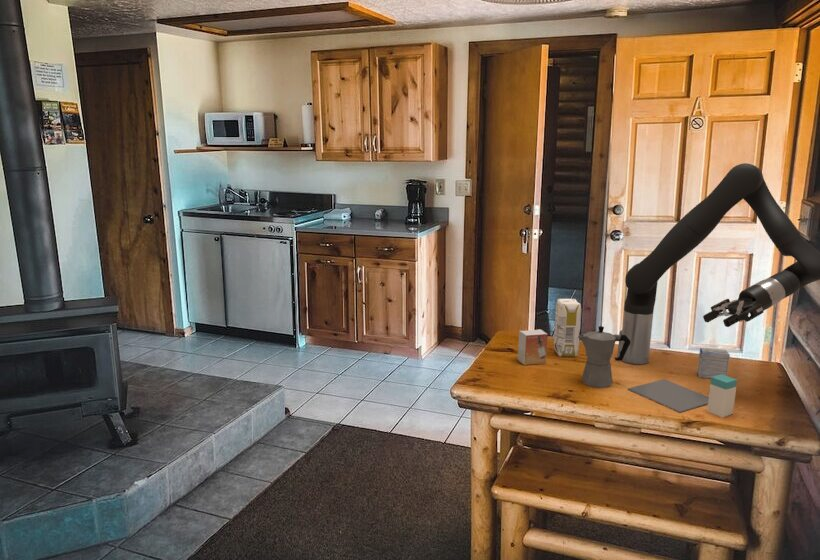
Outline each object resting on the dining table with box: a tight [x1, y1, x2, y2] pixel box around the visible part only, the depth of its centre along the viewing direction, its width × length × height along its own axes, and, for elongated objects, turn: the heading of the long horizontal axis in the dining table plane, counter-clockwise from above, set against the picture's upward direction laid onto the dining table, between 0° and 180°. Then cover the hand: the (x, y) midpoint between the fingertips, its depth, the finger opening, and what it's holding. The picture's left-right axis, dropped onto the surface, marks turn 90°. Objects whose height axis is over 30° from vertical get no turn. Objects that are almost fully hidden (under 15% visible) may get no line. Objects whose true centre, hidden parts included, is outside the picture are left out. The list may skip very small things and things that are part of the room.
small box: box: [517, 328, 549, 366], centre depth 201 cm, size 8×6×10 cm
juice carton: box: [553, 298, 582, 358], centre depth 209 cm, size 8×9×19 cm
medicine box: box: [697, 347, 731, 379], centre depth 190 cm, size 8×4×9 cm, turn 74°
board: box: [627, 378, 709, 414], centre depth 176 cm, size 18×16×1 cm
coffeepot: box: [578, 325, 630, 389], centre depth 183 cm, size 15×9×18 cm, turn 82°
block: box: [706, 374, 738, 418], centre depth 164 cm, size 4×4×10 cm
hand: (714, 321), depth 168 cm, fingers open, 8 cm apart
